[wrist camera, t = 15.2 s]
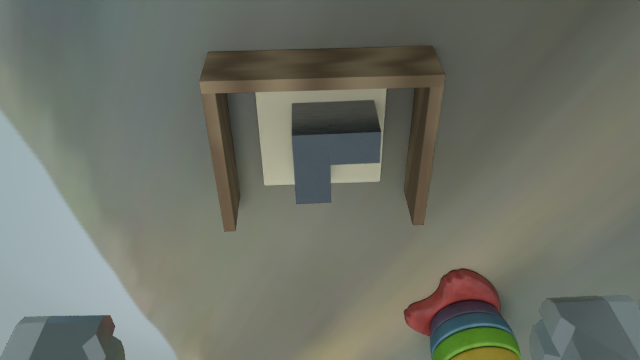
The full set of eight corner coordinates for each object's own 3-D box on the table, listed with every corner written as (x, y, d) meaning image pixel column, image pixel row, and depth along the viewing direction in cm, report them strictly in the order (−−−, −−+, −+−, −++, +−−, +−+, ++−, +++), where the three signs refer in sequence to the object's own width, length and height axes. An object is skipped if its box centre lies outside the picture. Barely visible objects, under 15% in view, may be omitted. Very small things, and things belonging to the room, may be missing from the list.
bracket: (291, 103, 46) (291, 135, 42) (374, 99, 46) (381, 131, 42) (296, 168, 50) (296, 204, 46) (371, 165, 50) (377, 200, 46)
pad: (386, 75, 45) (387, 77, 45) (379, 178, 52) (379, 181, 51) (254, 78, 45) (254, 81, 44) (264, 182, 52) (264, 185, 51)
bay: (431, 45, 43) (445, 74, 40) (414, 189, 53) (423, 224, 49) (208, 52, 43) (199, 81, 39) (229, 195, 52) (224, 231, 48)
